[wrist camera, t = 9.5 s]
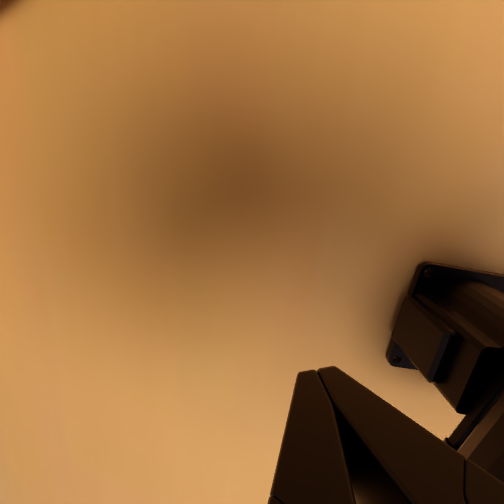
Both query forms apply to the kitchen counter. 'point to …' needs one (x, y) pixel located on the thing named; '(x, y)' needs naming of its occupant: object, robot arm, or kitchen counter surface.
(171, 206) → the kitchen counter surface
